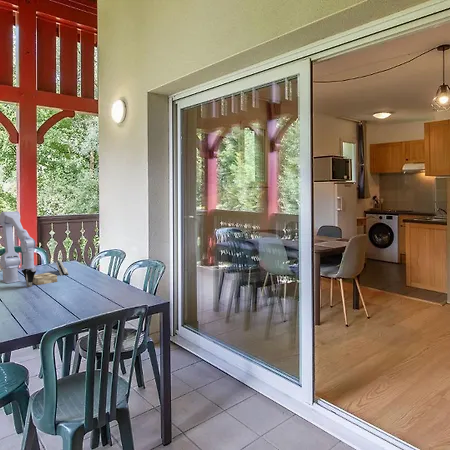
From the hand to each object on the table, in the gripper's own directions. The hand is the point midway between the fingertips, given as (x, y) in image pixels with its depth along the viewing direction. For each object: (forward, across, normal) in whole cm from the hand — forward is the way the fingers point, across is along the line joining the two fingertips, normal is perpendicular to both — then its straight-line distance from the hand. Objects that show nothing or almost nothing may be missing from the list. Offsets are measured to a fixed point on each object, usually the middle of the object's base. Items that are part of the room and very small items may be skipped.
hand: (29, 281), depth 223 cm
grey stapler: (+3, +23, -31) cm, 39 cm away
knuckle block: (+3, +6, -11) cm, 13 cm away
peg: (+3, 0, 0) cm, 3 cm away
